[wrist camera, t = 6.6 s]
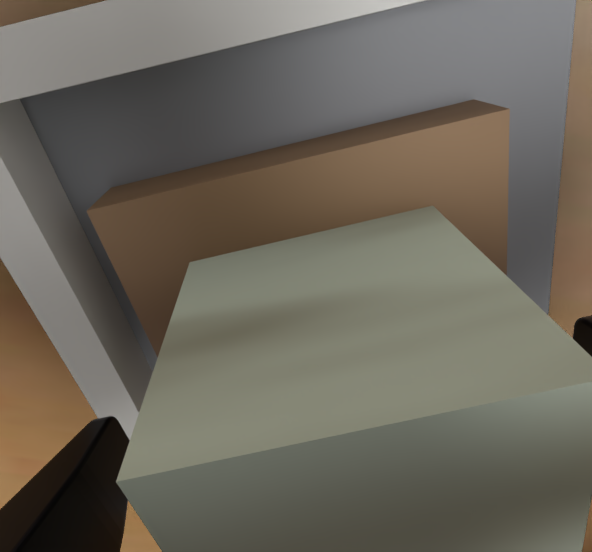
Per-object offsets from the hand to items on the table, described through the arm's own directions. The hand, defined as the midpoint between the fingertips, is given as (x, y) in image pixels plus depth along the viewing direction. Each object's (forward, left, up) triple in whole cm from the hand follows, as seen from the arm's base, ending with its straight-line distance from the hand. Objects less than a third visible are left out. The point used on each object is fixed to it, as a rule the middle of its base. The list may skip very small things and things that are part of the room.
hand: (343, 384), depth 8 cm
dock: (0, 0, -6) cm, 6 cm away
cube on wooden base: (0, 0, -3) cm, 3 cm away
